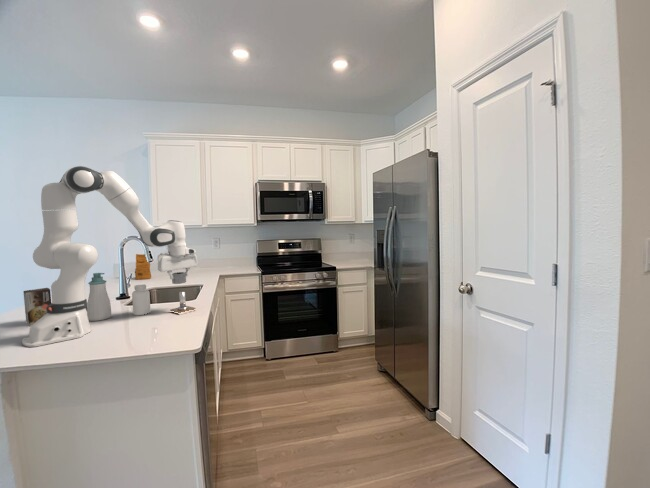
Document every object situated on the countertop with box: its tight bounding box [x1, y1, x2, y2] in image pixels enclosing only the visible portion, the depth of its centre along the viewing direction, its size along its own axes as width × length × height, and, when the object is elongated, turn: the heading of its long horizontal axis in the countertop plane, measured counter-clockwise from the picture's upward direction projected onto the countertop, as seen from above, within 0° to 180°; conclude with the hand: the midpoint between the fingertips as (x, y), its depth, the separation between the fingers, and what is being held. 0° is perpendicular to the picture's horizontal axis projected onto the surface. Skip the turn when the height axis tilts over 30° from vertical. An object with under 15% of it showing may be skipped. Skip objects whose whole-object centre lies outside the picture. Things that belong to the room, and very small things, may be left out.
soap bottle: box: [87, 272, 112, 322], centre depth 158 cm, size 10×10×23 cm
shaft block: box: [169, 291, 196, 313], centre depth 169 cm, size 9×9×10 cm
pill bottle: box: [131, 284, 151, 316], centre depth 166 cm, size 8×8×15 cm
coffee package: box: [134, 253, 152, 281], centre depth 280 cm, size 10×12×22 cm
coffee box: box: [23, 287, 52, 327], centre depth 153 cm, size 9×6×16 cm
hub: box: [171, 271, 187, 285], centre depth 167 cm, size 6×6×5 cm
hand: (179, 277), depth 167 cm, fingers closed on hub, 6 cm apart
